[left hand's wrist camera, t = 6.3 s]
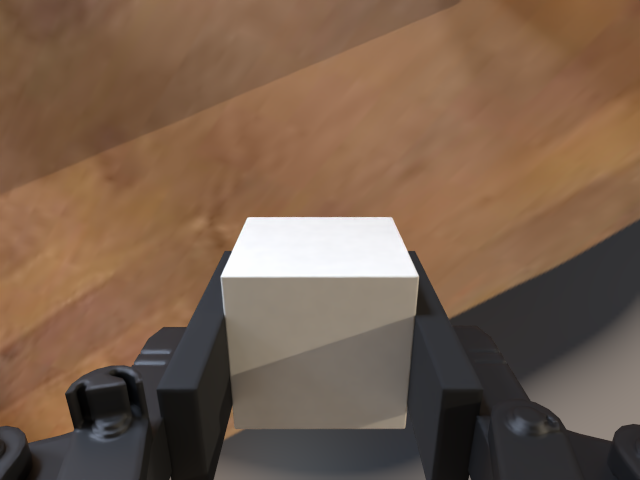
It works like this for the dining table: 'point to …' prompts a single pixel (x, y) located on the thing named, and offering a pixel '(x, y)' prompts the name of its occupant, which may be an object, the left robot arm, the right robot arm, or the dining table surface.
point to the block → (319, 323)
